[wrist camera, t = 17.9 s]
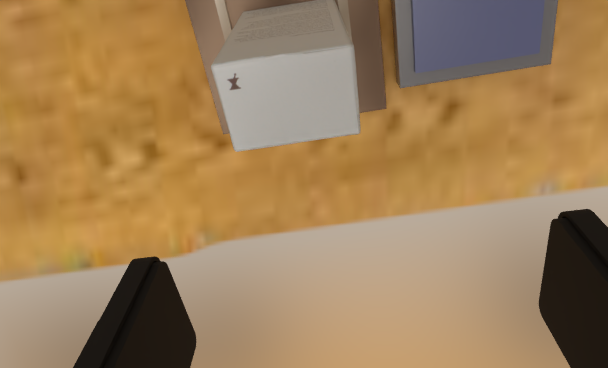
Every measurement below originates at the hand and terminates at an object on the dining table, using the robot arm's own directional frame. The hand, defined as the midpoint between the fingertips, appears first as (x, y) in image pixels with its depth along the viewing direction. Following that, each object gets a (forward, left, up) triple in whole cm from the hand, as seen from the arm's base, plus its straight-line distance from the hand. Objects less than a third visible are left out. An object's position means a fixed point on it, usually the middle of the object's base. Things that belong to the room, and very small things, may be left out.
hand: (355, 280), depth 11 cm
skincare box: (+2, -1, -22) cm, 22 cm away
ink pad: (-10, -1, -23) cm, 25 cm away
